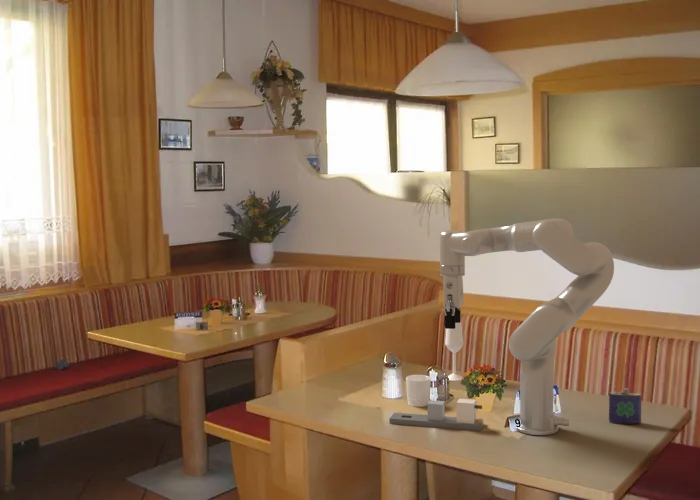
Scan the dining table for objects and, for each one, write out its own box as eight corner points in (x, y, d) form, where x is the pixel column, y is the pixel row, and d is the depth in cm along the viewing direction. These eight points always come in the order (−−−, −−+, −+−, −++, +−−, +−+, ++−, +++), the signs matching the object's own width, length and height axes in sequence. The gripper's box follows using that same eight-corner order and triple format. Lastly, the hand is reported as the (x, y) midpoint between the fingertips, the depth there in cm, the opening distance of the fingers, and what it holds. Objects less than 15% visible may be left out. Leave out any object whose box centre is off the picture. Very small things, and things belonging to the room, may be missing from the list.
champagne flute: (452, 381, 286) (452, 316, 284) (441, 377, 292) (441, 313, 289) (467, 379, 289) (467, 314, 287) (456, 375, 295) (456, 311, 293)
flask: (640, 422, 237) (641, 387, 236) (642, 425, 234) (642, 389, 233) (608, 420, 239) (608, 386, 238) (609, 423, 236) (609, 388, 235)
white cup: (429, 412, 250) (429, 381, 249) (404, 411, 252) (404, 380, 251) (431, 405, 258) (431, 375, 257) (407, 404, 260) (407, 374, 259)
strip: (483, 429, 233) (483, 416, 232) (480, 435, 227) (480, 422, 227) (394, 422, 241) (394, 410, 240) (389, 428, 235) (389, 415, 235)
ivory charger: (483, 425, 232) (482, 400, 231) (481, 429, 228) (480, 404, 227) (459, 423, 234) (459, 398, 233) (456, 427, 230) (456, 402, 229)
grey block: (444, 422, 235) (444, 401, 234) (442, 426, 231) (442, 404, 231) (430, 421, 236) (429, 400, 236) (427, 425, 233) (427, 403, 232)
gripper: (460, 274, 234) (460, 331, 235) (468, 267, 250) (469, 320, 252) (435, 274, 236) (435, 330, 238) (445, 267, 252) (445, 319, 254)
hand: (452, 325), depth 245 cm, fingers open, 9 cm apart
